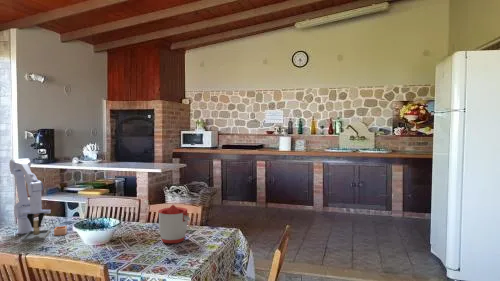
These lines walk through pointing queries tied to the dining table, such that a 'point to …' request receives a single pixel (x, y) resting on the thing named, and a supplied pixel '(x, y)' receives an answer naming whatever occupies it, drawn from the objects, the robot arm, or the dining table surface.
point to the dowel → (36, 227)
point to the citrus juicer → (173, 224)
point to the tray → (35, 236)
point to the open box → (60, 230)
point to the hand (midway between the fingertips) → (36, 226)
